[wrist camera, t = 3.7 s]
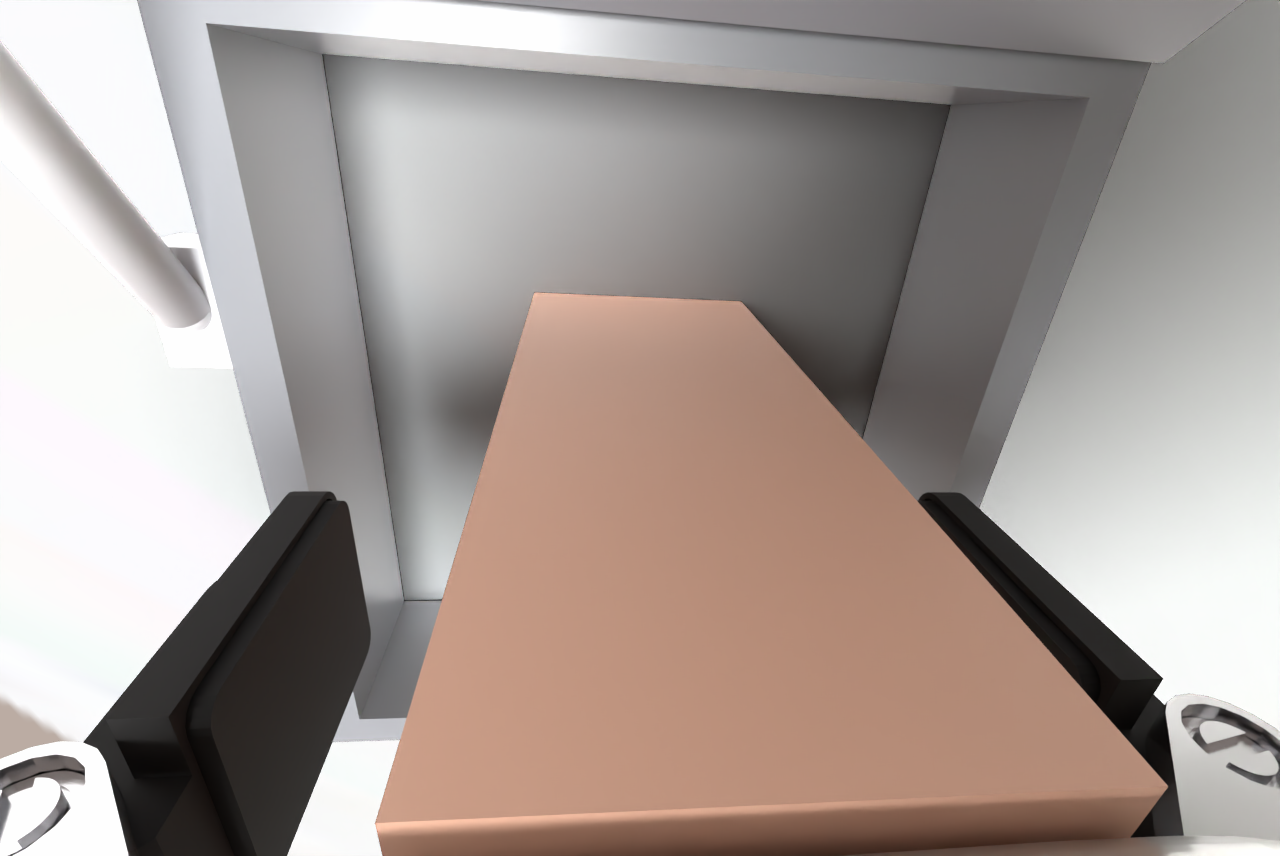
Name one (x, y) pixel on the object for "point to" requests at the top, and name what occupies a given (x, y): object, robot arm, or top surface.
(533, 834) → the block
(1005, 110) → the case
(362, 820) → the top surface
